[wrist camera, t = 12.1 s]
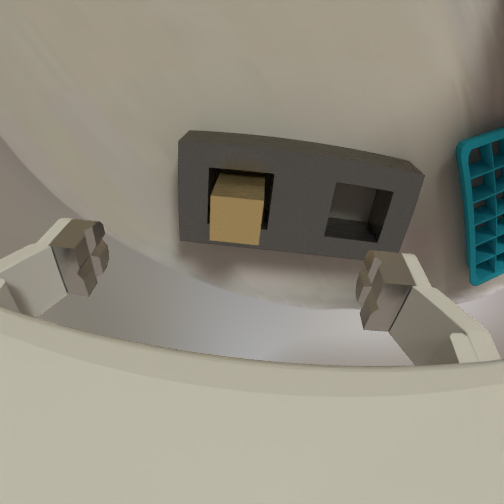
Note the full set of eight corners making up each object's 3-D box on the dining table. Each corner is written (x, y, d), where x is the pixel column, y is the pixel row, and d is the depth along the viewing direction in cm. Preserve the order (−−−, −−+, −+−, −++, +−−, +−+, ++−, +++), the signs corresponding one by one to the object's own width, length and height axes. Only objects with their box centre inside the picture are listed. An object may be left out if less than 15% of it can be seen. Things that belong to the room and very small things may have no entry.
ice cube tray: (461, 274, 37) (470, 288, 34) (444, 136, 27) (458, 145, 24) (521, 246, 33) (531, 258, 31) (517, 113, 23) (533, 120, 21)
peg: (265, 165, 30) (263, 200, 24) (261, 202, 32) (258, 245, 26) (224, 161, 30) (210, 195, 24) (222, 198, 32) (209, 240, 26)
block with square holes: (409, 161, 28) (424, 175, 25) (383, 242, 34) (393, 263, 31) (189, 130, 28) (178, 141, 25) (188, 220, 34) (179, 240, 31)
